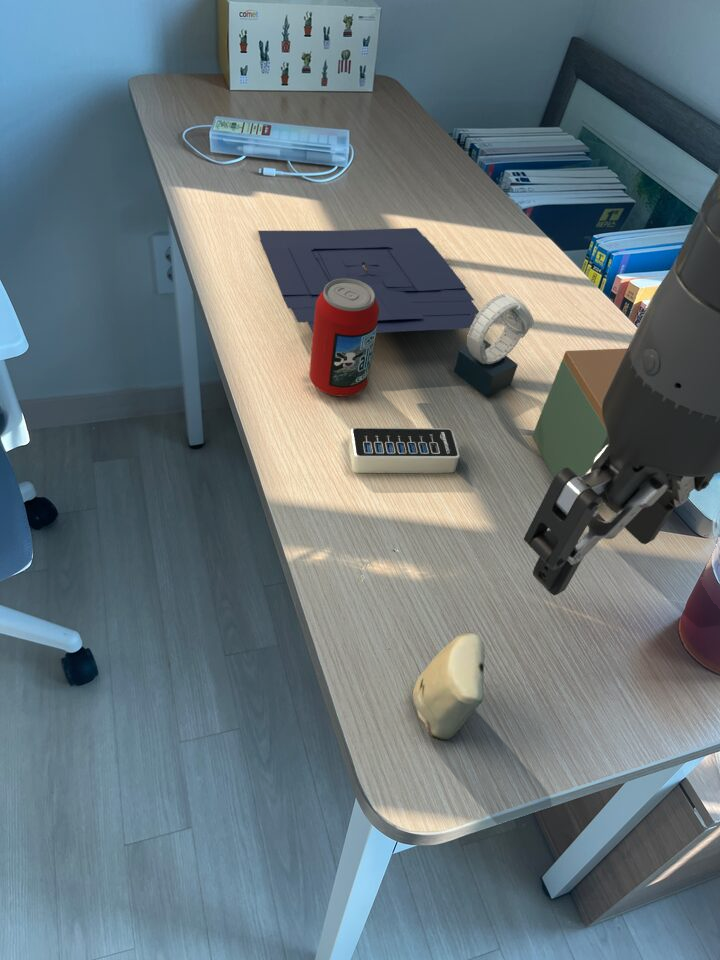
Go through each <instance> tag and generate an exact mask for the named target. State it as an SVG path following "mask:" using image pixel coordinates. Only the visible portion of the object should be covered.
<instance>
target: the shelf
mask: <svg viewBox="0 0 720 960" xmlns="http://www.w3.org/2000/svg"><path fill="white" fill-rule="evenodd" d="M627 349H628V347H627V348H604V349H603V348H601V349H580V350H578V349H577V350H565V352H564V354H563V357H562V359H561V362H560V364H559V367H558V369H557V372H556V374H555V378H554V380H553V382H552V384H551V387H550V390H549V393H548V395H547V397H546V400H545V403H544V405H543V407H542V409H541V413H540V414H539V417H538V420H537V423H536V425H535V426H534V427H535V428H534V430H533V433H532V435H531V437H532V439H533V441H534V443H535V445H536V447H537V449H538V451H539V453H540V455H541V457H542V459H543V460H544V463H545V464H546V467H547V468H548V470H549V472H550V474H551V476H552V478H553V479H554V477H555V476H556V475H557V473H558V472H560V471H561V470H562V469H564V468H567V467H569V468H570V469H571V470H572V471H573V472H574V473H576V474H577V475H578V476H579V477H580V476H583V475H585V474H586V473H587V472H588V471H589V470H590V469H591V468H592V466H593V464H594V459H595V457H596V456H597V455H598V454H599V453H600V452H601V451H602V450H603V448H604V447H605V446H606V445H607V444H609V441H608V435H607V430H606V426H605V423H604V420H603V415H602V404H603V400H604V397H605V395H606V393H607V391H608V389H609V387H610V385H611V382H612V380H613V378H614V376H615V374H616V372H617V370H618V368H619V366H620V363H621V361H622V359H623V357H624V355H625V353H626V351H627Z"/></svg>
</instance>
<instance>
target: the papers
mask: <svg viewBox="0 0 720 960" xmlns="http://www.w3.org/2000/svg"><path fill="white" fill-rule="evenodd" d="M257 232H258V237H259V242H260V245H261V247H262V249H263V252H264V254H265V256H266V259H267V261H268V263H269V266H270V268H271V271H272V273H273V276H274V279H275V282H276V284H277V286H278V288H279V291H280V294H281V296H282V298H283V302H284V303H285V305H286V307H287V309H290V310H292V313H293V315H294V318H295V320H296V321H297V323H307V324H308V327H309V329H310V331H311V333H312V334H313V327H314V317H315V308H316V301H317V299H318V297H319V295H320V294H321V293H322V292H323V290H324V288H325V286H326V285H327V284H328V283H329V282H331V281H333V280H337V279H354V280H358V281H361V282H363V283H365V284H367V285H368V286H370V287H371V288H372V290H373V291H374V293H375V299H376V301H377V303H378V306H379V315H378V322H377V329H376V334H378V333H379V334H381V333H395V332H396V333H397V332H416V331H417V332H418V331H419V332H421V331H441V330H460V329H470V327H471V325H472V323H473V321H474V319H475V318H476V317H474V315H477V314H478V313H479V312H480V310H479V309H478V308H477V307H476V305H475V304H474V301H475V299H474V298H473V296H472V295H471V294H470V293H469V291H468V289H467V286H466V285H465V284H464V283H463V281H462V280H461V279H460V277H459V276H458V275H457V274H456V272H455V271H454V270H453V268H452V267H451V266H450V265H449V264H448V262H447V261H446V260H445V258H444V256H442V255H441V253H440V252H439V251H438V249H437V247H435V245H434V244H433V243H431V241H429V240H428V238H427V237H426V236H424V235H423V233H422V232H420V230H419V229H418V228H417V227H409V228H408V227H407V228H380V229H378V228H377V229H352V230H257Z"/></svg>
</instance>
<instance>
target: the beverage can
mask: <svg viewBox="0 0 720 960" xmlns="http://www.w3.org/2000/svg"><path fill="white" fill-rule="evenodd" d="M378 315H379V306H378V303H377V301H376V299H375V293H374V291H373V290H372V288H371V287H370V286H368V285H367V284H365V283H363V282H361V281H358V280H354V279H337V280H333V281H331V282H329V283H328V284H327V285H326V286H325V288H324V290H323V292H322V293H321V294H320V295H319V297H318V299H317V301H316V308H315V317H314V327H313V333H312V337H311V339H312V340H311V351H310V362H309V365H310V366H309V378H310V382H311V383H312V384H313V386H314V387H315V388H317V389H318V390H319V391H321V392H323V393H325V394H327V395H331V396H337V397H348V396H352V395H355V394H358V393H360V392H361V391H362V390H365V387H366V386H367V384H368V380H369V375H370V369H371V365H372V359H373V354H374V353H373V352H374V346H375V341H376V336H377V335H376V334H377V333H376V329H377V322H378Z"/></svg>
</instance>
